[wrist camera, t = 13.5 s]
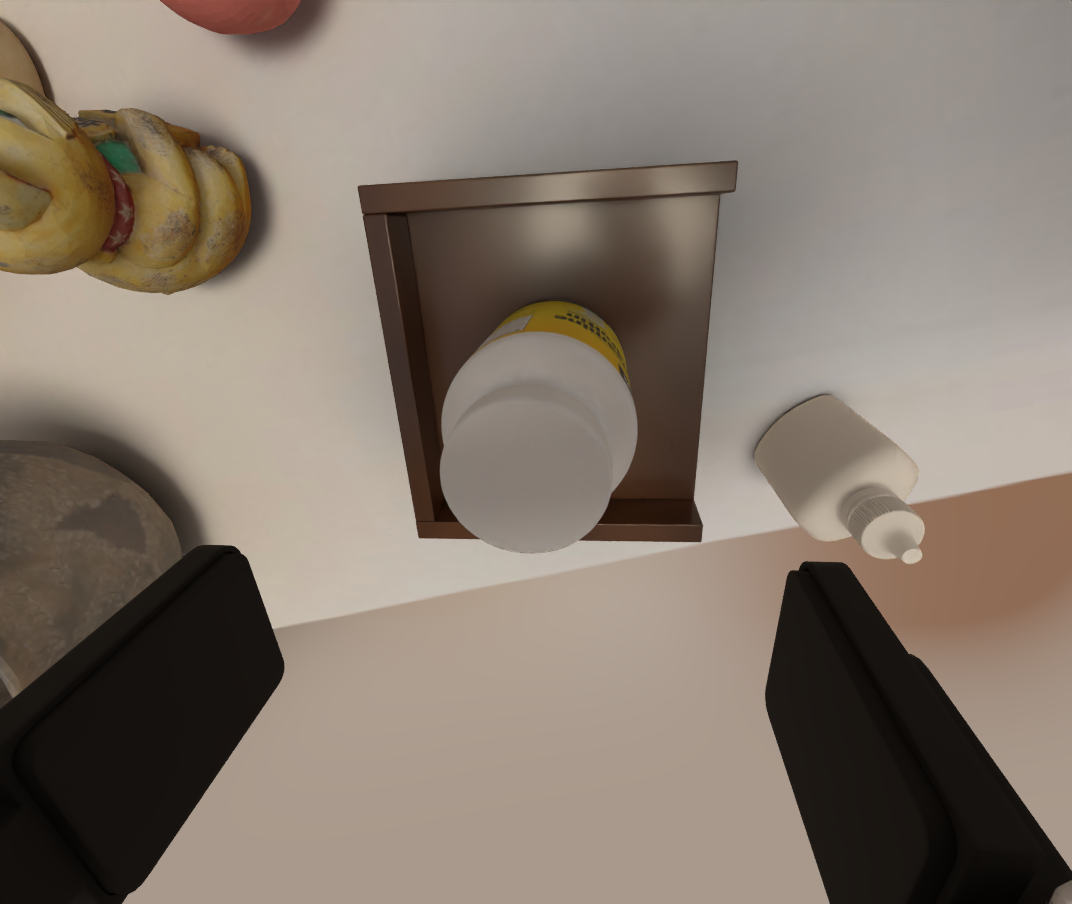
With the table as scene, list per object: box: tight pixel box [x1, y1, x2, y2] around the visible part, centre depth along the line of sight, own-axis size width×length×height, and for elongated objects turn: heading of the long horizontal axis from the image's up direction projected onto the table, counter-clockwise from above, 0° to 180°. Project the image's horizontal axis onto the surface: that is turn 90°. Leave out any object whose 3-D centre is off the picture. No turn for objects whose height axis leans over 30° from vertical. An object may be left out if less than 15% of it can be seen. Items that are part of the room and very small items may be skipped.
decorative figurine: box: [0, 77, 252, 295], centre depth 22 cm, size 10×8×15 cm
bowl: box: [0, 440, 182, 709], centre depth 31 cm, size 18×18×15 cm
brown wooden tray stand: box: [358, 160, 738, 542], centre depth 26 cm, size 14×16×8 cm
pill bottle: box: [440, 299, 638, 553], centre depth 19 cm, size 6×6×12 cm
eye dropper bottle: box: [754, 395, 925, 564], centre depth 25 cm, size 4×6×12 cm
